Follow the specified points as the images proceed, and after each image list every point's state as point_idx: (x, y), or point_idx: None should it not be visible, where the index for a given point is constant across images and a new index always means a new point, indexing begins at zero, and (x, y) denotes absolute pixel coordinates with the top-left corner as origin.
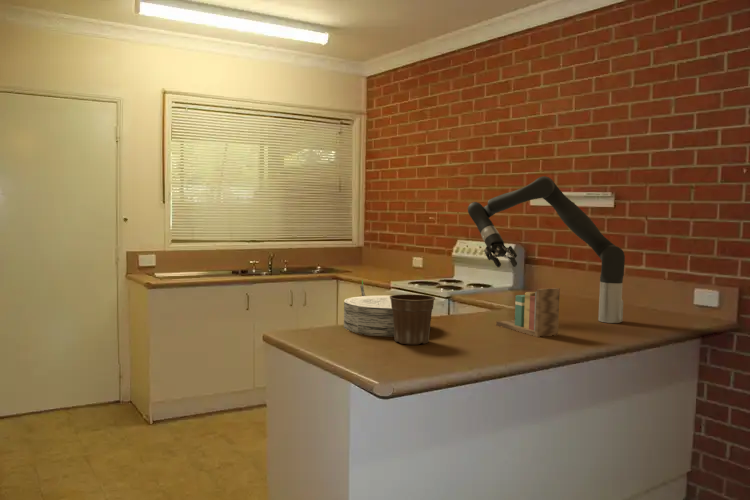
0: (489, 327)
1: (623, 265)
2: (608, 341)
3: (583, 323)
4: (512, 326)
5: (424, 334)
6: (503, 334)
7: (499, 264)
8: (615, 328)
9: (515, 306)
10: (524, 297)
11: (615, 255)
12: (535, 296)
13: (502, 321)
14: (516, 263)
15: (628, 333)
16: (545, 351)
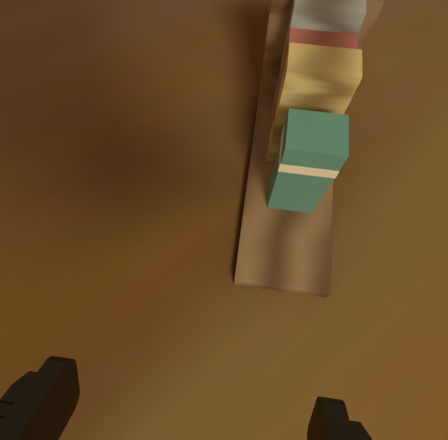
0: (378, 276)
1: None
2: (205, 12)
3: (16, 176)
4: (331, 203)
5: None
6: (404, 170)
7: (342, 406)
8: (22, 88)
9: (331, 180)
10: (333, 116)
11: None
12: (357, 30)
13: (305, 285)
14: (55, 359)
15: (67, 39)
16: (424, 12)
